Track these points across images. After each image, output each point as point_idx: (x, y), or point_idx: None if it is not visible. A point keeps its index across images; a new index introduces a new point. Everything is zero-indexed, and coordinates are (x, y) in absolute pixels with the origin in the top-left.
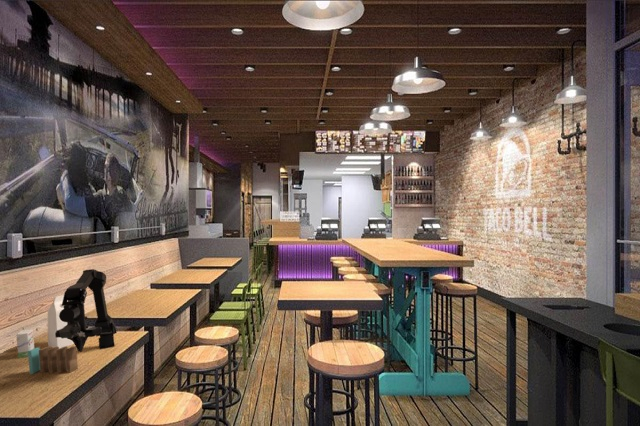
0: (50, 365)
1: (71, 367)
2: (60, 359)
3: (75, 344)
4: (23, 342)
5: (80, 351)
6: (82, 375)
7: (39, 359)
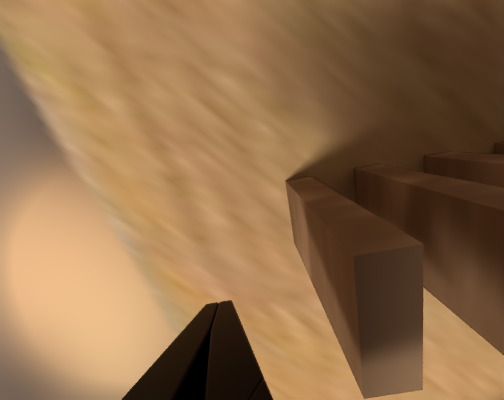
0: (484, 157)
1: (292, 201)
2: (417, 188)
3: (245, 396)
4: None
5: (204, 309)
6: (148, 160)
7: None
